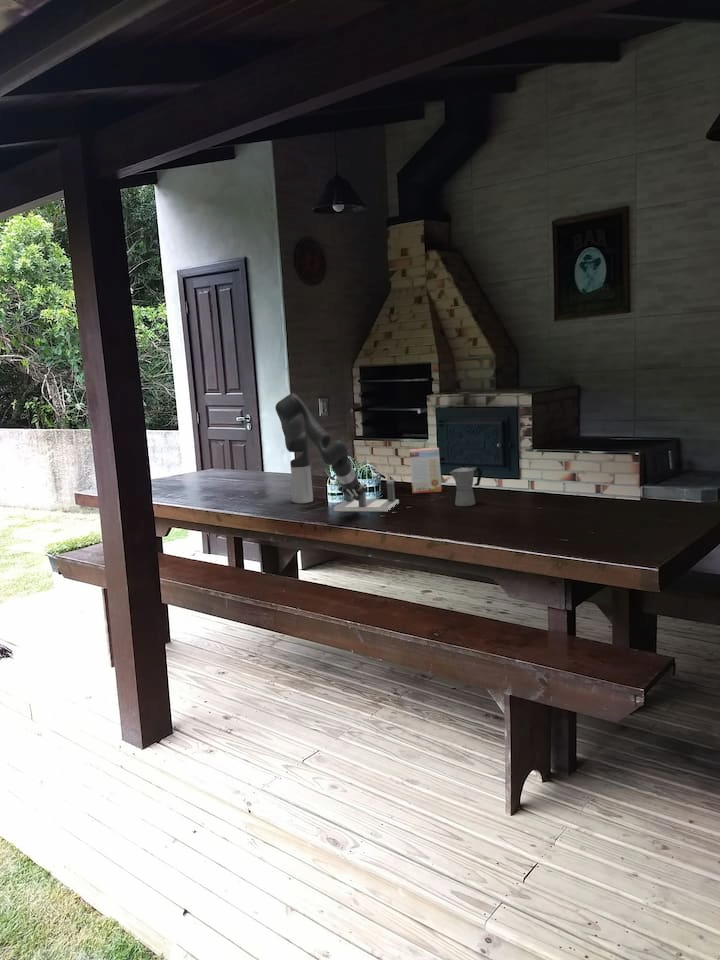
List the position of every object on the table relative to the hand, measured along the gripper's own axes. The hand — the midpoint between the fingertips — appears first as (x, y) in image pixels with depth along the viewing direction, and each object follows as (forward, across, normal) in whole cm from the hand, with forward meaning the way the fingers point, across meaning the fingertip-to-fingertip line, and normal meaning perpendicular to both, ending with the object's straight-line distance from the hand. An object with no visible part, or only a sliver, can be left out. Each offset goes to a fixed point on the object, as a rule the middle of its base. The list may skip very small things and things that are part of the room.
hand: (358, 498), depth 321 cm
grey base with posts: (+12, 0, +4) cm, 13 cm away
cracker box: (+37, +19, +27) cm, 49 cm away
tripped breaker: (+7, 0, +1) cm, 7 cm away
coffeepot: (+17, +44, +8) cm, 48 cm away
